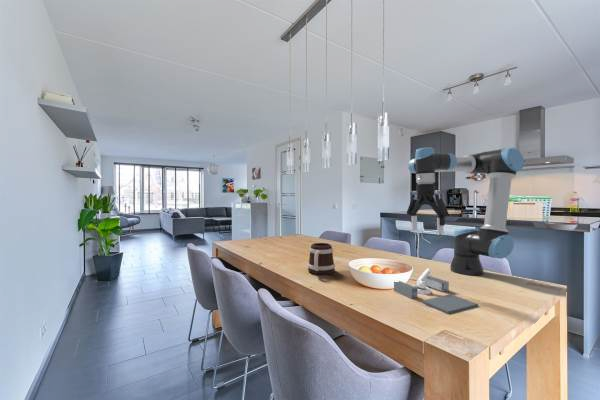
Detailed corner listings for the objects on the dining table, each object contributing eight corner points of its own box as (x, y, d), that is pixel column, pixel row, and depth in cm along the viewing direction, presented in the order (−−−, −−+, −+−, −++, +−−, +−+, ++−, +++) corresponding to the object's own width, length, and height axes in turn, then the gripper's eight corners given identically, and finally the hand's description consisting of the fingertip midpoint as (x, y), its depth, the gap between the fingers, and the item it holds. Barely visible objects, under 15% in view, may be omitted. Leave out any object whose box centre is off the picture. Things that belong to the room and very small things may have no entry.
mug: (311, 267, 158) (311, 241, 158) (337, 269, 153) (337, 242, 153) (301, 276, 139) (301, 247, 139) (330, 279, 134) (329, 249, 134)
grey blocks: (429, 284, 125) (429, 275, 125) (448, 291, 115) (448, 281, 115) (393, 290, 116) (393, 281, 116) (411, 298, 107) (411, 288, 107)
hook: (446, 282, 112) (434, 273, 110) (427, 303, 113) (415, 295, 112) (435, 273, 119) (424, 265, 117) (418, 293, 120) (407, 286, 119)
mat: (451, 296, 110) (450, 294, 110) (478, 306, 99) (478, 303, 99) (421, 302, 103) (421, 300, 103) (447, 313, 93) (447, 311, 93)
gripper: (398, 185, 128) (399, 229, 129) (445, 181, 105) (446, 235, 106) (409, 184, 131) (410, 228, 132) (457, 181, 109) (459, 234, 109)
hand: (426, 231), depth 119 cm, fingers open, 13 cm apart
